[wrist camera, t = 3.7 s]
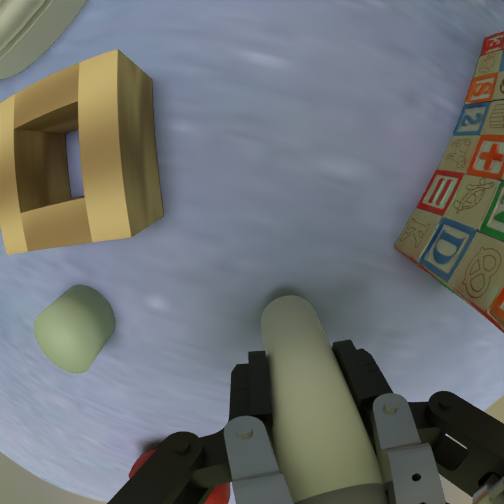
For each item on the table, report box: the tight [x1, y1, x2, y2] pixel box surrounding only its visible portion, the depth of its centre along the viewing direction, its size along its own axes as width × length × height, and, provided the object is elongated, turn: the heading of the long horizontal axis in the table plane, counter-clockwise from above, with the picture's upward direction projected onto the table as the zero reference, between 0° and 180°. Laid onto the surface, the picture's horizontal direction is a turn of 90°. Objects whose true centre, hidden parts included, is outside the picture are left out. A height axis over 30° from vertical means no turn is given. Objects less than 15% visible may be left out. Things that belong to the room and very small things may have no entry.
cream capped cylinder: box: [261, 295, 389, 504], centre depth 9 cm, size 3×3×12 cm
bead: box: [34, 285, 115, 373], centre depth 15 cm, size 4×4×4 cm
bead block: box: [0, 49, 164, 255], centre depth 12 cm, size 8×8×5 cm
